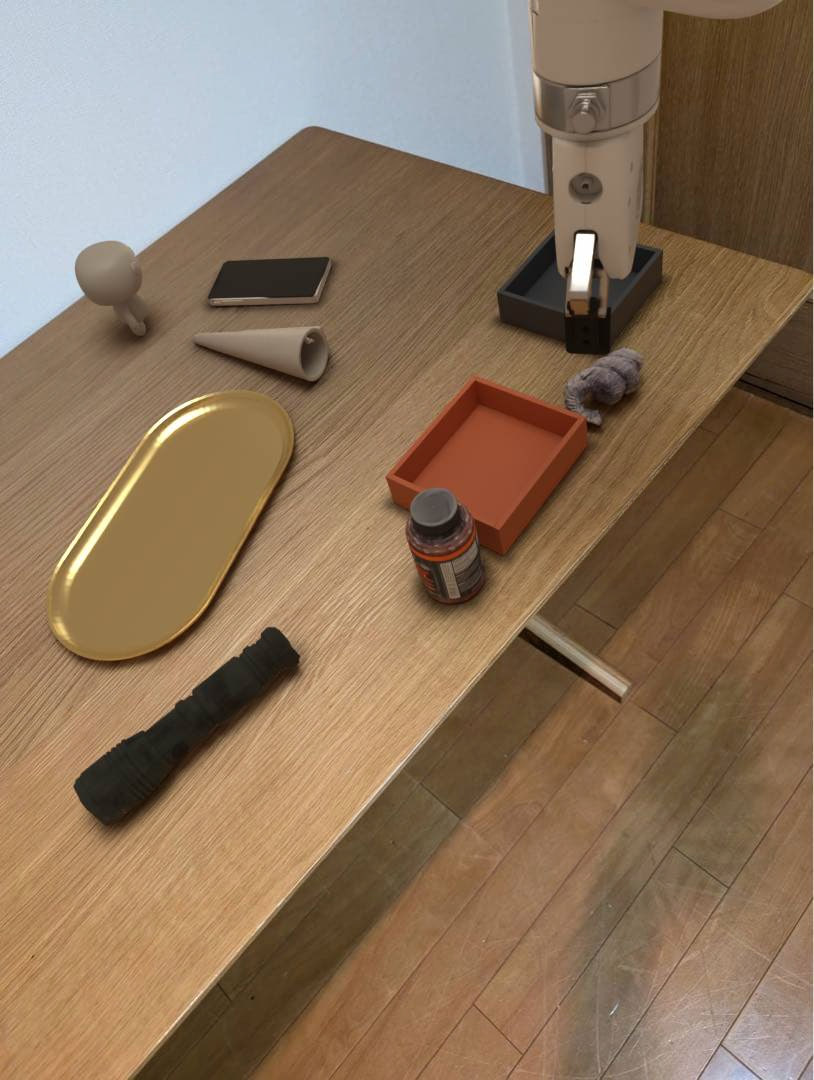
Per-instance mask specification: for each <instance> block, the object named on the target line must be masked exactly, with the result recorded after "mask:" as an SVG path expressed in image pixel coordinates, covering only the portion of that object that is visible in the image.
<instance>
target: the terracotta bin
mask: <svg viewBox="0 0 814 1080" xmlns="http://www.w3.org/2000/svg"><path fill="white" fill-rule="evenodd" d="M587 422H588V421H587V420H586V417H585V416H583V415H580V414H577V413H575V412H572V411H569V410H567V408H563V407H561V406H559V405H556V404H553V403H550V402H548V401H545V400H542V399H540V398H538V397H537V398H536V397H534V396H532V395H529V394H526V393H524V392H520V391H518V390H515V389H512V388H510V387H507V386H505V385H502V384H499V383H497V382H494V381H491V380H489V379H485V378H483V377H480V376H478V375H474V374H473V375H472V376H471V377H470V378H469V380H468V381H467V382H466V383H465V384H464V385H463V387H462V388H461V389H460V390H459V391H458V392H457V393H456V394H455V396H454V397H453V398H452V399H451V400H450V402H448V403H447V405H446V406H445V407H444V408H443V409H442V410H441V412H440V413H439V414H438V415H437V416H436V417H435V418H434V420H433V421H432V422H431V423H430V425H428V426H427V428H426V429H425V430H424V431H423V433H421V435H420V436H419V437H418V438H417V439H416V440H415V442H414V443H413V444H412V445H411V446H410V447H409V448H408V450H407V451H406V452H404V454H403V455H402V457H400V459H399V460H398V461H397V462H396V464H395V465H394V466H393V467H392V468H391V469H390V470H389V472H388V473H386V475H385V481H386V483H387V485H388V489H389V492H390V495H391V498H392V501H393V502H394V503H395V504H396V505H399V506H401V507H403V508H405V509H407V510H409V511H410V506H411V503H412V501H413V499H414V498H415V497H416V496H417V495H418V494H419V493H421V492H422V491H424V490H426V489H430V488H444V489H447V490H449V491H450V492H452V493H453V494H454V495H455V497H456V499H457V500H458V501H460V502H461V503H463V504H464V505H465V506H466V507H467V508H468V509H469V511H470V512H471V514H472V516H473V519H474V523H475V527H476V531H477V536H478V540H479V544H480V546H481V545H482V546H483V547H485V548H488V549H490V550H491V551H494V552H496V553H498V554H500V555H502V556H505V555H506V553H508V551H509V549H510V548H511V547H512V545H513V544H514V543H515V541H516V540H517V539H518V537H519V536H520V535H521V533H522V532H524V529H526V527H527V526H528V524H529V523H530V522H531V521H532V519H533V518H534V516H535V515H536V514H537V513H538V511H539V510H540V509H541V507H542V506H543V505H544V503H545V502H546V501H547V499H548V498H549V497H550V495H551V494H552V493H553V492H554V490H555V489H556V487H557V486H558V485H559V483H560V482H561V481H562V480H563V478H564V477H565V476H566V474H567V473H568V472H569V470H570V469H571V468H572V466H573V465H574V464H575V462H576V461H577V460H578V458H579V457H580V456H581V454H582V453H583V452H584V450H585V449H586V448H587V447H588V445H589V444H588V426H587V425H588V423H587Z"/></svg>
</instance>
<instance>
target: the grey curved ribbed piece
mask: <svg viewBox="0 0 814 1080" xmlns="http://www.w3.org/2000/svg"><path fill="white" fill-rule="evenodd" d="M644 361H645V358H643V356H641V355H640V354H639V352H638V351H637V350H635V349H631V348H628V347H627V348H626V347H624V346H621V347H618V349H617V350H610V353H609V354H607V355H605V356H603V357H601V358H598V359H597V360H596V361H594V362H593V363H592V364H590V365H589V367H588V368H587V367H586V368H584V369H581V371H579V372H577V373H576V374H574V375H573V377H570V378H569V379H568V380H567V381H566V383H565V386H564V388H563V392H562V393H563V397H564V405H565V409H567V410H569V411H572V412H575V413H577V414H580V415H583V416H585V417H586V420H587V422H588V423H592V425H596V426H597V427H598V426H600V425H602V424H603V423H604V422H605V421H604V420H603V418H602V416H601V415H600V413H599V409H597V410H596V409H595V410H593V409H592V410H591V409H590V408H587V407H585V400H586V397H587V395H589V394H590V395H591V396H592V398H593V399H595V400H597V401H598V402H600V403H603V404H606V405H615V404H616V403H618V402H620V401H621V400H622V399H623V396H624V395H629V394H630V393H633V392H634V391H636V389H638V387H639V385H640V384H641V375H640V371H642V369H643V368H644V365H645V363H644Z"/></svg>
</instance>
